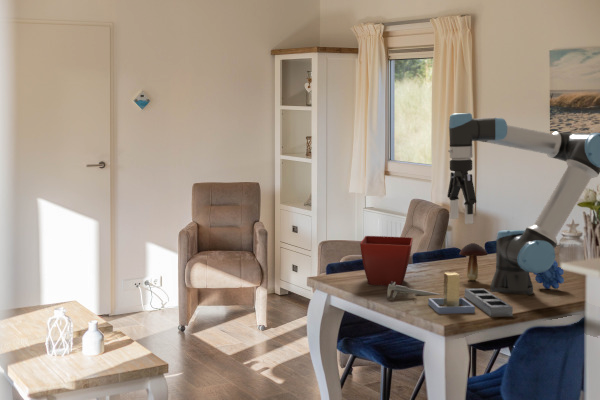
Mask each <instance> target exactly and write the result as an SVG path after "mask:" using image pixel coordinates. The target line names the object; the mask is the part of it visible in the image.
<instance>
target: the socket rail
mask: <svg viewBox="0 0 600 400" xmlns="http://www.w3.org/2000/svg"><path fill="white" fill-rule="evenodd" d="M464 299H465V300H467V301H468V302H469V303H471V304H472V305H473V306H476V307H477V308H478V309H480V310H481V311H483V313H485V314H487V316H489V317H492V318H495V317H496V318H497V317H498V318H499V317H500V318H501V317H513V309H514V308H513V306H512V305H510V304H509V303H508V302H506V301H504V300H503V299H501V298H500V297H498V296H497V295H495V294H493V292H491V291H489V290H487V289H485V288H481V287H480V288H464Z"/></svg>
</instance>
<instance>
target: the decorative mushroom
mask: <svg viewBox="0 0 600 400" xmlns="http://www.w3.org/2000/svg"><path fill="white" fill-rule="evenodd" d="M459 251H460V252H459V254H458V255H460V256H464V257H468V263H467V270H466V276H467V279H468V281H476V280H478V277H479V270H478V269H479V268H478V267H479V266H478V264H479V263H478V257H484V256H487V255H488V252H487V249H485V248H484V247H482V246H481V245H479V244H477V243H475V242H474V243H473V242H472V243H468V244H467V245H464V247H463V248H461V250H459Z"/></svg>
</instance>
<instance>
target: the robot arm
mask: <svg viewBox="0 0 600 400" xmlns="http://www.w3.org/2000/svg"><path fill="white" fill-rule="evenodd" d="M448 132H449V134H448V135H449V149H448V153H449V158H450V159H449V170H450V171H451V172H450V175H449V176H450V178H449V185H448V188H447V189H448V191H447V198H448V200H449V205H450V207H449V208H450V209H449V211H450V212H449V213H450V214H449V216H450V218H449V219H450V220H451V219H452V220H456V219H459V200H460V198H459V193H460V191H462V195H463V198H464V203H463V205H464V224H465V225H470V224H471V225H472V224H474V205H475V204H476V203H477V197H476V192H475V186H474V182H473V181H474V180H473V174H469V173H468V172H471V171H473V160H472V158H473V142H476V141H477V142H480V143H481V142H482V143H488V144H492V145H493V144H494V145H498V146H504V147H508V148H515V149H519V150H525V151H529V152H534V153H540V154H545V155H546V156H547V157H548V158H551V159H555V160H556V159H557V160H560V161H563V162H566V166H567V168H566V170H565V171H564V173H563V174H562V176H561V178H560V180H559V182H558V183H557V185H556V186H555V188H554V190H553V191H552V193H551V194H550V196H549V197H548V200H547V202H546V203H545V205H544V207H543V209H542V210H541V212H540V213H539V215H538V217H537V218H536V220H535V222H534V224H532V225H530V226H527V227H526V228H525V229H517V230H516V229H515V230H513V229H510V230H509V229H508V230H507V229H505V230H499V231H497V233H496V234H497V235H496V239H495V241H496V255H495V256H496V257H495V259H496V260H495V272H494V275H493V276H492V280H491V282H490V289H489V290H490V292H491V293H503V294H511V295H512V294H514V295H524V294H525V295H527V296H530V295H533V294H534V286H533V282H532V279H531V275H530V273H541V272H544V271H546V270H548V269H549V268H550V267H551V266H552V265H553V263H554V261H556V251H555V249H556V247H557V245H558V241H557V236H558V234H559V233H560V231H561V230H562V228H563V227H564V225H565V223H566V221H567V219H568V218H569V216H570V214H571V213H572V211H573V209H574V207H575V206H576V205H577V203H578V201H579V199H580V198H581V196H582V194H583V192H584V191H585V189H586V188H587V186H588V184H589V183H590V181H591V179H594V178H598V177H599V175H600V132H597V131H595V132H559V131H554V132H552V133H550V132H545V131H538V130H534V129H528V128H523V127H519V126H513V125H509V124H508V123H507V121H506V119H504V118H502V117H489V118H487V117H486V118H473V114H472V113H471V112H469V113H468V112H466V113H465V112H464V113H463V112H462V113H451V114H450V115H449V121H448Z"/></svg>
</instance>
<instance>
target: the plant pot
mask: <svg viewBox="0 0 600 400" xmlns="http://www.w3.org/2000/svg"><path fill="white" fill-rule="evenodd" d="M413 240H414V239H413V237H411V236H410V237H408V236H407V237H405V236H404V237H403V236H385V235H384V236H383V235H380V236H379V235H365V236H364V237H363V238H362V240H361V242H360V243H359V244H360V254H361V255H360V256H361V259H362V265H363V270H364V273H365V278H366V281H367V284H368V285H369V286H370V285H371V286H384V287H385V286H386V287H388V286H389V284H391V281H392V282H393V283H394V282H396V283H395V285H400V286H403V283H404V281H405V277H406V273H407V271H408V267H409V261H410V257H411V253H412V246H413Z"/></svg>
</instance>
